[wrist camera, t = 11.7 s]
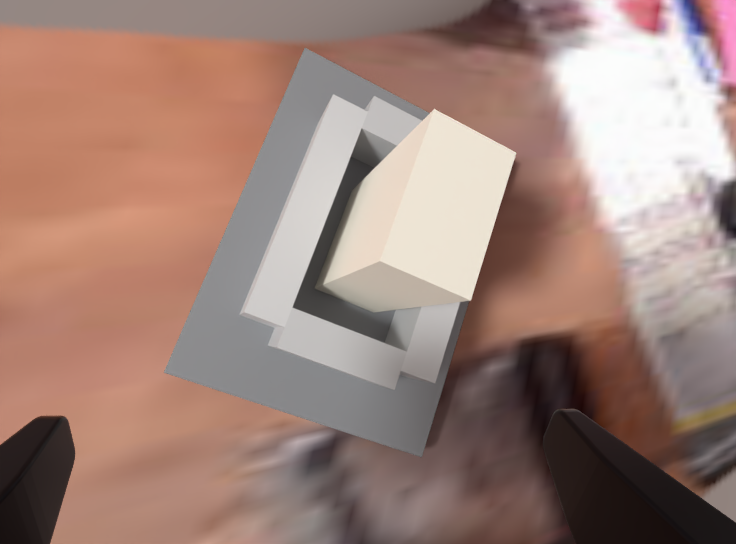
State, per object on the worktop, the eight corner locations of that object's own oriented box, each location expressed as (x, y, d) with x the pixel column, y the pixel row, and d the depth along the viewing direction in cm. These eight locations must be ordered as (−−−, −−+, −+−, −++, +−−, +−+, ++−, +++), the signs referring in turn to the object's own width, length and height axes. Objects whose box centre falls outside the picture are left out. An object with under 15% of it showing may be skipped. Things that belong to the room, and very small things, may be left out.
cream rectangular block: (373, 312, 23) (470, 300, 14) (314, 288, 22) (379, 261, 14) (410, 207, 24) (520, 139, 16) (355, 181, 23) (439, 95, 15)
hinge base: (411, 451, 24) (451, 475, 20) (166, 370, 21) (156, 379, 17) (500, 164, 27) (549, 135, 24) (300, 61, 25) (318, 8, 21)
